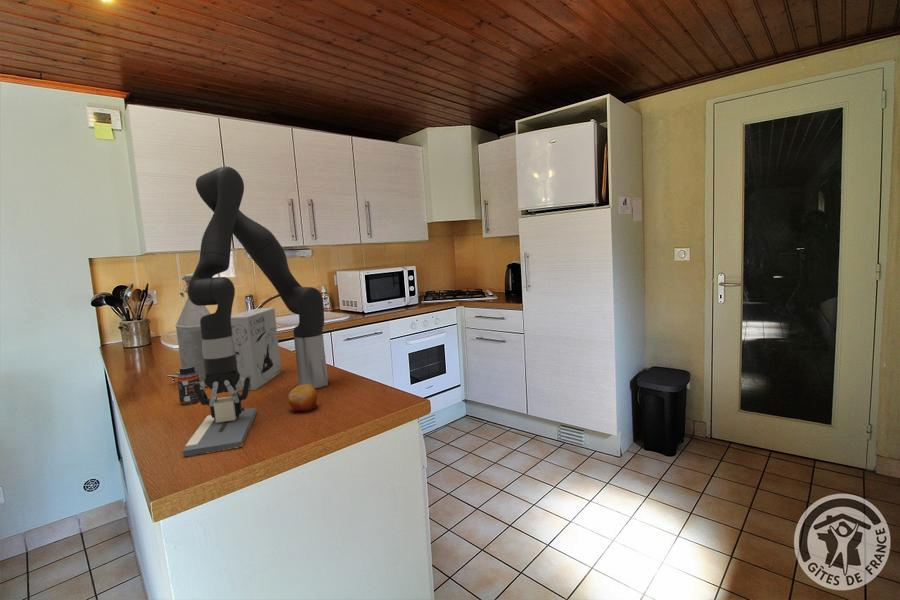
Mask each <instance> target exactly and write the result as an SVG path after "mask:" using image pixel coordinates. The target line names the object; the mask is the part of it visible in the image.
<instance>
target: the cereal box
mask: <svg viewBox="0 0 900 600" xmlns="http://www.w3.org/2000/svg"><path fill="white" fill-rule="evenodd" d="M275 310H276V309H275V307H261V308H254V309H250V310H249V309H248V310H247V311H243V312H239V313H237V314H233V315H231V327H232V336H233V340H234V344H235V352H236V360H237V369H238V372H239V374H240V376H248V375H250V376H251V382H250V387H249V391H257V390H258V389H260V388H261V387H262V386H264V385H265V384H267V383H268V382H269V381H271V380H272V379H273V378H275V377H276V376H278V375H279V374H281V372H282V367H281V366H282V365H281V358H280V348H279V347H280V346H279V338H278V330H277V321H276V311H275ZM236 387H237V389H238V392H243V391H242V390H243V387H244V385H243V384H242V383H241V380H239V381H238V383H237V384H236Z"/></svg>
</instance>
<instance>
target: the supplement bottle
mask: <svg viewBox="0 0 900 600" xmlns="http://www.w3.org/2000/svg"><path fill="white" fill-rule="evenodd" d="M176 381H177V390H178V400H179V403H180V405H192V403H193V404H196V403H198V401H199V402H200V400H199V398H198V396H197V394H196V392H195V390H194V388H193V386H194V384H195V383H197V382H200V380H199V374H198V373H197V372H196V371H195V369H194V366H184V367H181V366H180V367H179V374H178V375H177V377H176Z"/></svg>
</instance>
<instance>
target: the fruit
mask: <svg viewBox="0 0 900 600" xmlns="http://www.w3.org/2000/svg"><path fill="white" fill-rule="evenodd" d="M317 400H318V393H317V390H316V388H314V387H313V386H312V385H310V384H304V385H299V384H298V385H297V386H296V387H294V388H293V389H291V391H289V393H288V394H287V403H288V404H289V406H290V407H291V408H292V410H293V411H295V412H296V411H297V412H308V411H312V410H313V409H315V408H316V406H317Z"/></svg>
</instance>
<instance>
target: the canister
mask: <svg viewBox="0 0 900 600" xmlns="http://www.w3.org/2000/svg"><path fill="white" fill-rule="evenodd" d="M193 274H194V273H189V274H184V275H183V276H184V277H182V278H181V281H182V280H183V281H184V282H185V285H183V287H182V290H181V291H182V292H179V295H180V296H181V297H182V298H184V297H185V295H184V293H186V294H187V295H188V286H189V283H190V280H191V278H192V276H193ZM184 288H185V289H186V290H184ZM209 314H211V312H210V310H209V309H208V308H207V306H197V305H195V304H193V303H192V302H191V301H190V299H189V297H188V296H187V299H186V300H185V303H184V305H183V308H182V310H181V313H180V315H179V317H178V319H177V322H176V324H175V329H176V336H177V344H178V351H179V360H180V368H181V367H184V366H194V369H195V371H196V372H197V373H198V374H199V380H200V382H201V381H204V379H205V377H206V375H205V367H204V359H203V355H202V352H203V351H202V335H201V326H200V319H201V318H202V317H203V316H206V315H209ZM205 388H209V387H208V386H207V385H206V384H205Z"/></svg>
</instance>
